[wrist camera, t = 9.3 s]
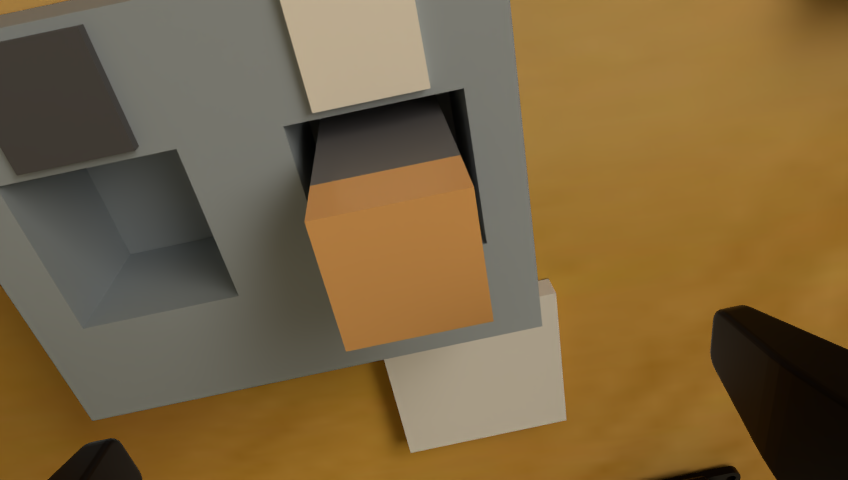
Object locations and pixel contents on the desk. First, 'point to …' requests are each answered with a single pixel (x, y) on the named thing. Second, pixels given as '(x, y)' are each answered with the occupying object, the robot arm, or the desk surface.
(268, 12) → the port block
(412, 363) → the plate
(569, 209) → the desk surface
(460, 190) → the plug
